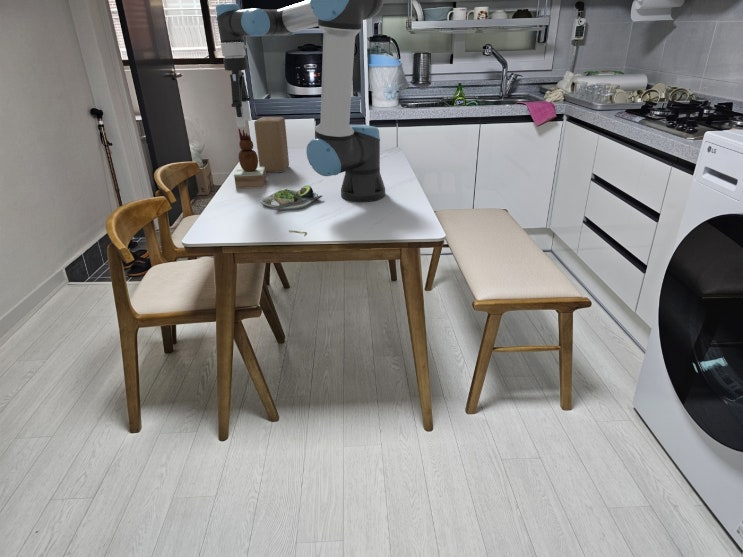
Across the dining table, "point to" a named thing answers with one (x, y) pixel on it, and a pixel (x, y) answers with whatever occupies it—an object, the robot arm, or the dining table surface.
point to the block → (272, 143)
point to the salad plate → (291, 198)
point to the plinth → (250, 178)
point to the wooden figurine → (247, 153)
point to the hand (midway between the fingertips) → (244, 123)
